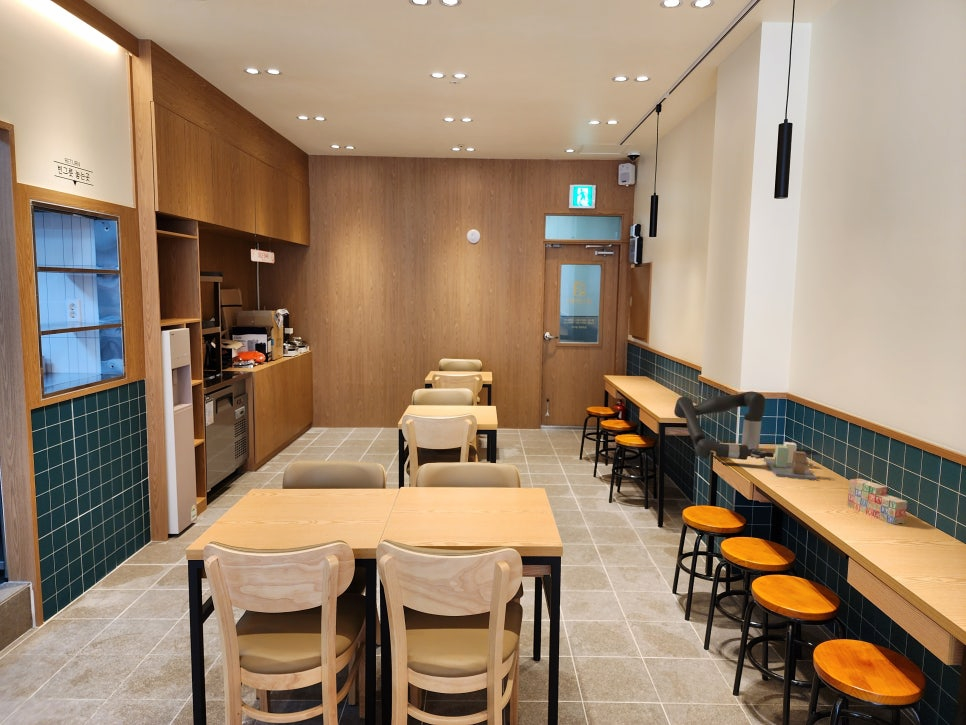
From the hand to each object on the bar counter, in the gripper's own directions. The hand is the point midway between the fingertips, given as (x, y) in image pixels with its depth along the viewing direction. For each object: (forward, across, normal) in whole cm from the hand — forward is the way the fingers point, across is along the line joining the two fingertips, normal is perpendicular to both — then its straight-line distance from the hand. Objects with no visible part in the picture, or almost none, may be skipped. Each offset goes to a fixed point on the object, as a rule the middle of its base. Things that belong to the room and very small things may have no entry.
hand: (773, 455), depth 327 cm
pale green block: (+4, 0, -5) cm, 7 cm away
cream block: (+10, -10, -5) cm, 15 cm away
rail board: (+8, 0, -7) cm, 11 cm away
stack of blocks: (+28, +61, -7) cm, 67 cm away
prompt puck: (+18, -18, -7) cm, 26 cm away
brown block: (+10, +10, -5) cm, 15 cm away
